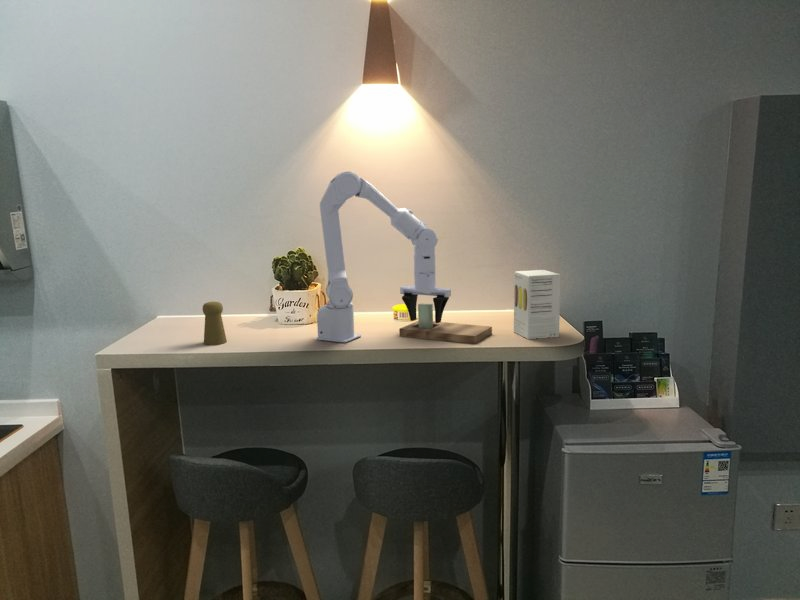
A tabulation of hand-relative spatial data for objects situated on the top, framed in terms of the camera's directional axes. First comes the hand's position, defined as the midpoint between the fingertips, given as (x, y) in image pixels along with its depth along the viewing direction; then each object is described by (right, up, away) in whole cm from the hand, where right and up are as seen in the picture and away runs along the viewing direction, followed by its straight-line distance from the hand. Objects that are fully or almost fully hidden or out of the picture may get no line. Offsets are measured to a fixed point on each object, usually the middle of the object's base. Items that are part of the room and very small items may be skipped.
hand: (425, 321), depth 176 cm
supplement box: (+29, -4, -4) cm, 30 cm away
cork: (-57, -6, -4) cm, 57 cm away
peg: (0, -3, +1) cm, 3 cm away
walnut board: (+5, -4, -2) cm, 7 cm away
